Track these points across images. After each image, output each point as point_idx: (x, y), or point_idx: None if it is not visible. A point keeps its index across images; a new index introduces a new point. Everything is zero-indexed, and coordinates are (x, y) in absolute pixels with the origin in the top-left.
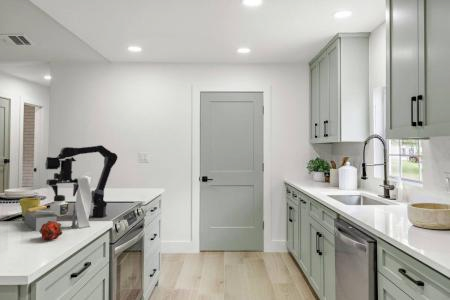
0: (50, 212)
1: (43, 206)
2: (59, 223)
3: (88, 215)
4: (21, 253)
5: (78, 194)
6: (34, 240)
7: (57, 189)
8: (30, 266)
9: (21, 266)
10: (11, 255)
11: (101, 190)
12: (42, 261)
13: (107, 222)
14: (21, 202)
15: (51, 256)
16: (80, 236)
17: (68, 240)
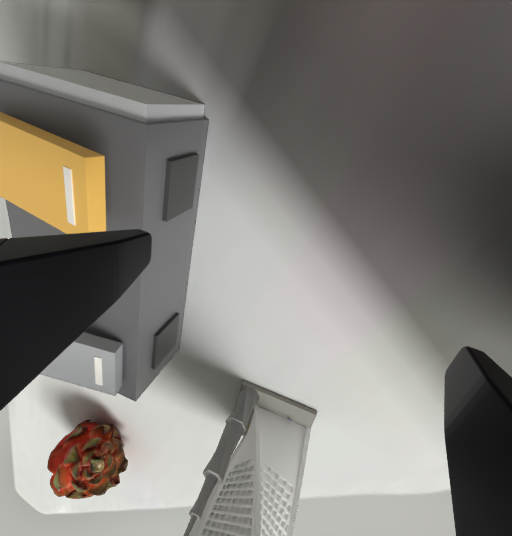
0: (91, 387)
1: (69, 215)
2: (96, 494)
3: (292, 499)
4: (37, 452)
5: None
6: (70, 408)
7: (1, 405)
8: (45, 501)
9: (34, 491)
10: (21, 444)
11: None
12: (62, 504)
13: (448, 480)
14: None
15: (79, 504)
16: (186, 488)
17: (142, 480)
